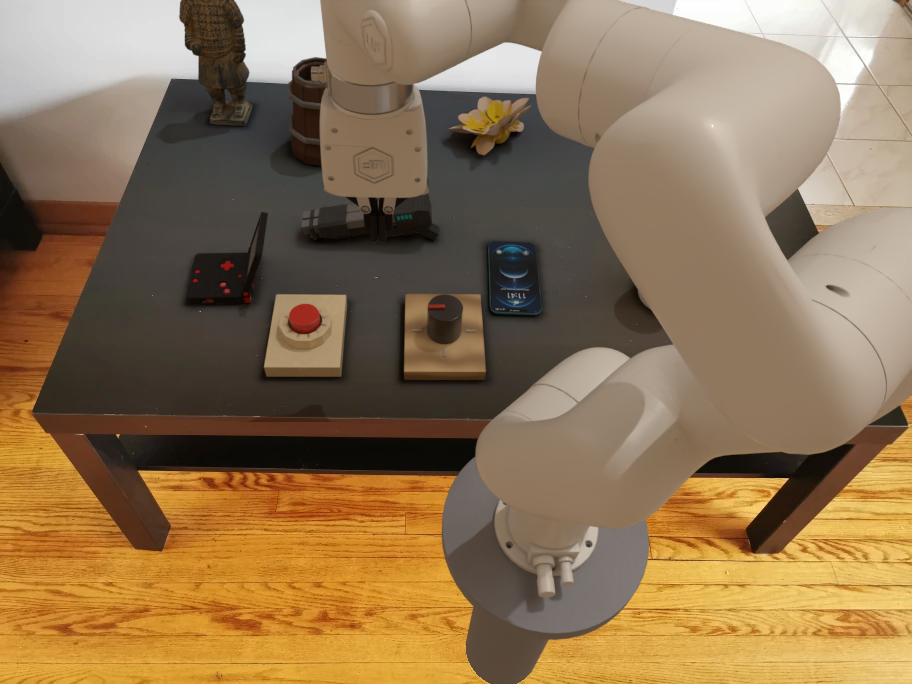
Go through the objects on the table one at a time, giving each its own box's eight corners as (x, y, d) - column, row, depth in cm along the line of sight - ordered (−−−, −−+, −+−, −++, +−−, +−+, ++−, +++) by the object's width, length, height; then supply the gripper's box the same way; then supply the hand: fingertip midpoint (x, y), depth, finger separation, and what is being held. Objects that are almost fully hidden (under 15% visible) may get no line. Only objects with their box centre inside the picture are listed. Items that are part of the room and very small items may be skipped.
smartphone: (535, 242, 113) (542, 313, 103) (535, 245, 113) (541, 316, 104) (487, 240, 112) (490, 311, 103) (487, 243, 113) (489, 314, 103)
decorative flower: (494, 95, 135) (506, 54, 126) (536, 133, 133) (551, 94, 124) (438, 131, 129) (446, 90, 120) (481, 171, 127) (492, 133, 118)
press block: (341, 377, 95) (338, 359, 92) (266, 376, 95) (261, 359, 92) (347, 304, 103) (345, 286, 100) (278, 304, 103) (274, 285, 100)
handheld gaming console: (197, 259, 108) (180, 209, 100) (278, 257, 109) (268, 208, 101) (187, 305, 102) (168, 256, 94) (273, 303, 103) (261, 255, 95)
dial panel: (484, 380, 96) (486, 371, 95) (404, 380, 96) (403, 370, 94) (479, 303, 105) (480, 293, 103) (405, 302, 104) (405, 292, 103)
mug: (350, 170, 122) (344, 93, 111) (282, 162, 123) (268, 84, 111) (369, 118, 132) (365, 42, 120) (306, 110, 133) (295, 34, 121)
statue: (199, 124, 128) (151, -49, 105) (210, 100, 133) (166, -71, 109) (256, 128, 128) (221, -45, 105) (265, 104, 133) (233, -67, 110)
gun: (442, 243, 112) (422, 196, 104) (327, 272, 116) (299, 229, 108) (442, 224, 114) (421, 177, 107) (329, 252, 118) (302, 210, 111)
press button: (319, 334, 95) (317, 326, 94) (289, 334, 95) (287, 325, 94) (321, 311, 98) (320, 303, 96) (292, 311, 97) (290, 303, 96)
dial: (460, 317, 100) (462, 292, 96) (462, 344, 97) (464, 319, 93) (426, 317, 100) (427, 292, 96) (427, 344, 97) (428, 319, 93)
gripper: (281, 103, 60) (306, 257, 74) (456, 107, 61) (448, 258, 75) (290, 56, 64) (313, 209, 79) (454, 60, 65) (446, 211, 80)
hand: (379, 233), depth 77 cm, fingers closed
